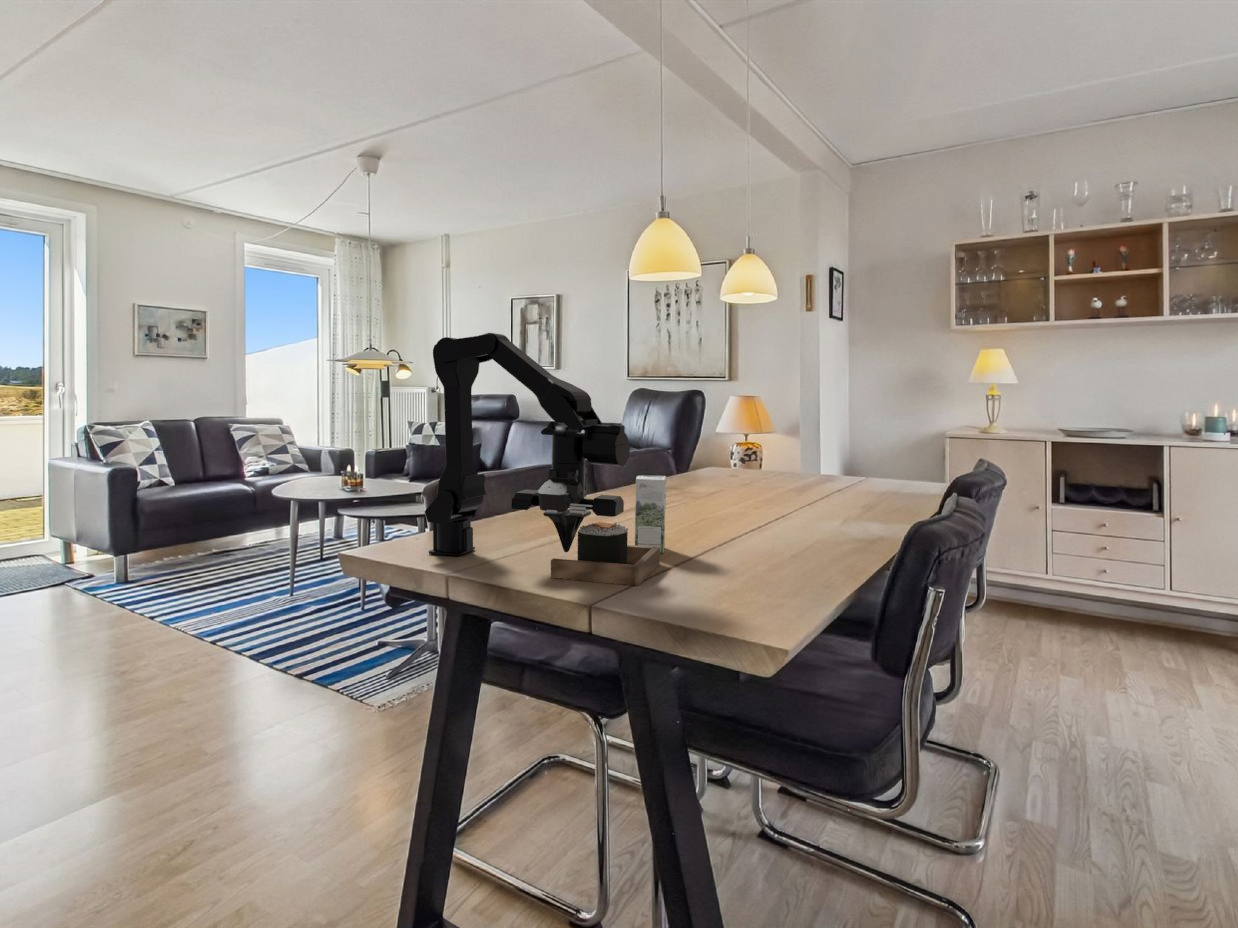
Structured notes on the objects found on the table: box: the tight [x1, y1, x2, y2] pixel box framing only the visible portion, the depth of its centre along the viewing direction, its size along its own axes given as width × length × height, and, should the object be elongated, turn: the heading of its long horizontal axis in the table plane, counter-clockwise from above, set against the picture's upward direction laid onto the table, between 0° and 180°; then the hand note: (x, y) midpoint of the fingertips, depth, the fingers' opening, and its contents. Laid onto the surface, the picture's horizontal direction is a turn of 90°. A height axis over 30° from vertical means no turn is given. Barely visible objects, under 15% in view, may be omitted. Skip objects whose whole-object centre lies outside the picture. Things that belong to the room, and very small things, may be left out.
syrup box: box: [634, 474, 667, 554], centre depth 136 cm, size 6×6×14 cm
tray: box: [550, 544, 661, 587], centre depth 120 cm, size 15×15×3 cm
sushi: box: [577, 521, 629, 564], centre depth 120 cm, size 8×8×8 cm
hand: (566, 551), depth 122 cm, fingers closed
